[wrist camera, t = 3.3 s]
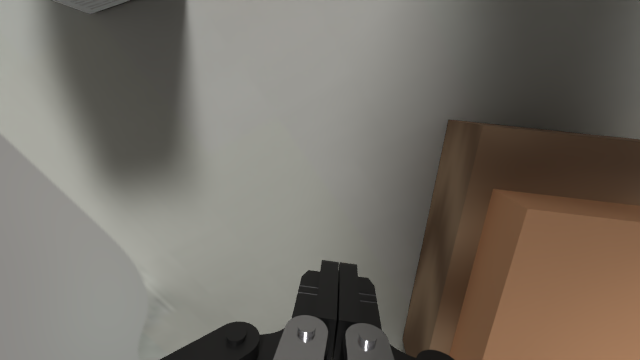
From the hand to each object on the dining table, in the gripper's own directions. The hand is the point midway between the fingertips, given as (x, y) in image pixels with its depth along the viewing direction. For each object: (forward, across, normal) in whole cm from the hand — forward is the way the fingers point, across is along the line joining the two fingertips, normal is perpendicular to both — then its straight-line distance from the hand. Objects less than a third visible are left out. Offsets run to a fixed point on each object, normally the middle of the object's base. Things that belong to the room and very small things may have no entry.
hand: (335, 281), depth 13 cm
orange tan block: (+1, -9, 0) cm, 9 cm away
